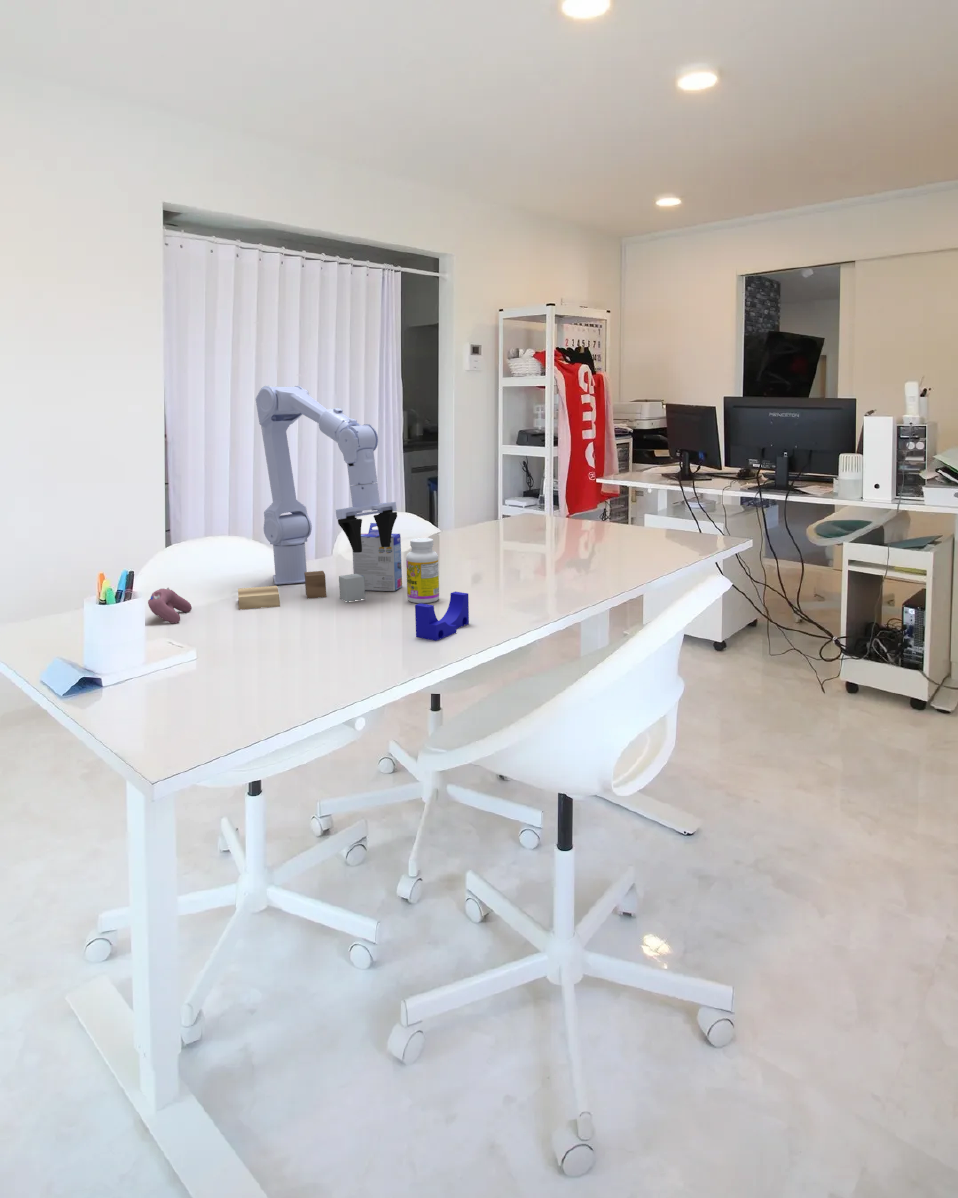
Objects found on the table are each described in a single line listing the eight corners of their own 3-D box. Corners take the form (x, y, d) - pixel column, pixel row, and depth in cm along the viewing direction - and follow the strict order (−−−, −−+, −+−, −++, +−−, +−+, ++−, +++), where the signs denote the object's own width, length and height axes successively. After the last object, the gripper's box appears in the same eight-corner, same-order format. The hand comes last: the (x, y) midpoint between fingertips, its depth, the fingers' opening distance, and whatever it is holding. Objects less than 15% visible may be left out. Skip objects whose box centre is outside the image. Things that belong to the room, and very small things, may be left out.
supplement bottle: (403, 598, 171) (401, 538, 168) (432, 595, 174) (431, 536, 170) (413, 605, 165) (411, 543, 162) (443, 602, 168) (442, 540, 165)
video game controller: (175, 619, 163) (155, 589, 162) (194, 608, 163) (175, 578, 162) (160, 632, 154) (139, 601, 152) (181, 621, 154) (160, 590, 152)
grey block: (340, 598, 172) (338, 575, 171) (357, 596, 174) (356, 573, 173) (347, 602, 168) (346, 579, 167) (365, 600, 170) (363, 576, 169)
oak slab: (239, 602, 171) (238, 588, 171) (277, 599, 174) (276, 585, 173) (239, 611, 164) (238, 597, 163) (280, 608, 166) (279, 594, 165)
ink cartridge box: (403, 586, 182) (401, 522, 179) (396, 592, 177) (393, 526, 173) (361, 585, 184) (358, 521, 181) (353, 590, 179) (350, 525, 175)
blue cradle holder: (436, 641, 141) (435, 608, 139) (416, 637, 143) (415, 605, 142) (475, 625, 150) (475, 594, 149) (455, 622, 153) (455, 591, 151)
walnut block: (305, 594, 176) (304, 572, 175) (324, 593, 177) (323, 570, 176) (307, 598, 172) (306, 575, 171) (326, 597, 173) (325, 574, 172)
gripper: (347, 486, 159) (356, 554, 162) (402, 480, 170) (410, 544, 172) (326, 488, 164) (335, 554, 166) (381, 482, 174) (388, 544, 177)
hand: (372, 549), depth 169 cm, fingers open, 7 cm apart
